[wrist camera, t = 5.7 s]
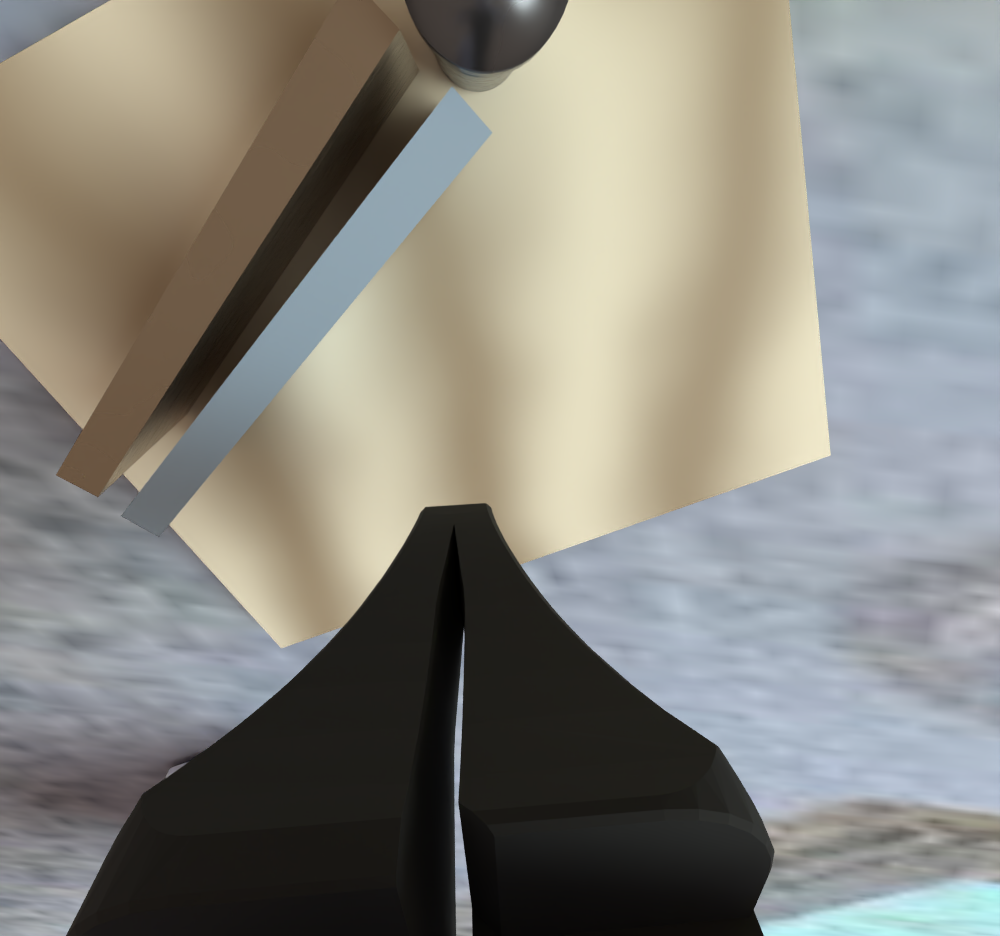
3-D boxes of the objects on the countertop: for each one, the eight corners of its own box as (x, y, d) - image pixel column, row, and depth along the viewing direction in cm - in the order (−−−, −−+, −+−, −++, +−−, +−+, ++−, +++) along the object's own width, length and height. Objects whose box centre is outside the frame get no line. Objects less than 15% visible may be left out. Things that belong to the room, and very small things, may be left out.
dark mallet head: (462, -82, 10) (462, -252, 6) (554, 32, 11) (611, -46, 7) (157, 396, 14) (31, 494, 10) (242, 449, 15) (158, 558, 11)
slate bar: (455, 108, 11) (451, 86, 8) (483, 140, 11) (492, 132, 8) (203, 429, 14) (120, 515, 11) (230, 447, 15) (159, 537, 11)
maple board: (290, 622, 20) (281, 648, 19) (-111, 157, 12) (-165, 156, 11) (808, 437, 17) (830, 455, 16) (722, -311, 9) (755, -369, 8)
